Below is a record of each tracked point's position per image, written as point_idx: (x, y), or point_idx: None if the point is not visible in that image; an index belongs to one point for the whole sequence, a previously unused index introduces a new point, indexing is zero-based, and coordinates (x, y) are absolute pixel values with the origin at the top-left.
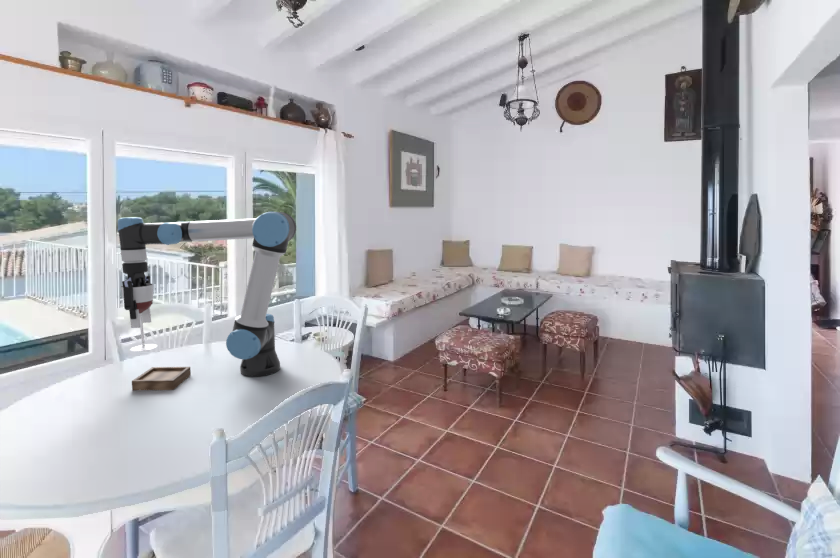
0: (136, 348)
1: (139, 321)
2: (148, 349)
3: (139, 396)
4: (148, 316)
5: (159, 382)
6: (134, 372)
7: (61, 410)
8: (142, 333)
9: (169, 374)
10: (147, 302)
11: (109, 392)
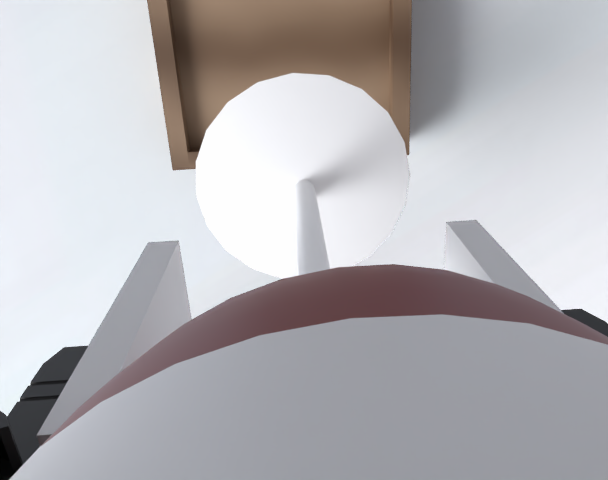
0: (356, 216)
1: (487, 257)
2: (369, 105)
3: (480, 56)
4: (163, 300)
5: None
6: None
7: (594, 306)
8: (319, 227)
9: (251, 3)
10: (584, 330)
11: (414, 239)
